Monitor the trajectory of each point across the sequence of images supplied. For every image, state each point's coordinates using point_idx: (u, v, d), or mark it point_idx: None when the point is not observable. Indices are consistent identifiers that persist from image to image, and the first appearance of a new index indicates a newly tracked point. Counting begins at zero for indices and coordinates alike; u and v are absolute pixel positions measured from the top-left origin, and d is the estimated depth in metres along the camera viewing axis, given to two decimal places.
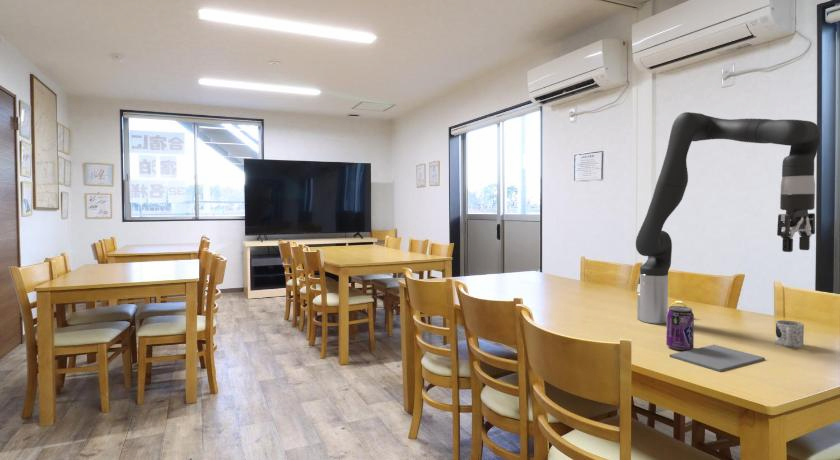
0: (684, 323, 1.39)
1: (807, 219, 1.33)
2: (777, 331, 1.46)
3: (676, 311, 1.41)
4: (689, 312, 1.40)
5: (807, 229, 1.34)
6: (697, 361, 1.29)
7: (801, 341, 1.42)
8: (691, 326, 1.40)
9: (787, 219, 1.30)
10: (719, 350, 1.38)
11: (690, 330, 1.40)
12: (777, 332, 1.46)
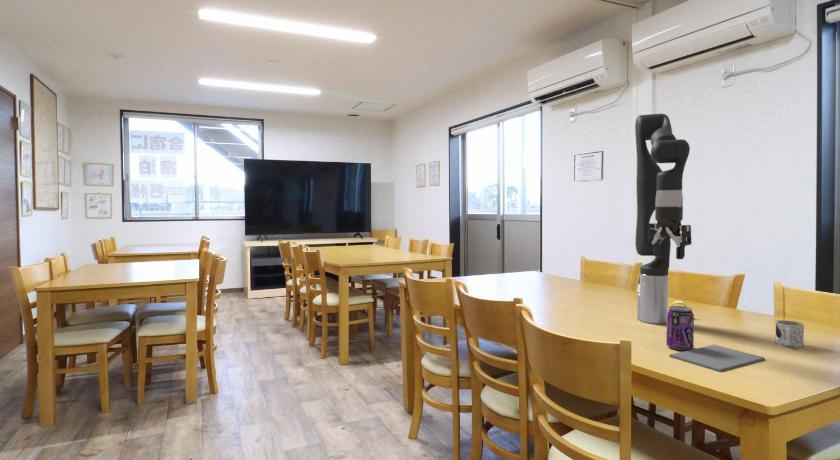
0: (684, 323, 1.39)
1: None
2: (777, 331, 1.46)
3: (676, 311, 1.41)
4: (689, 312, 1.40)
5: (664, 237, 1.52)
6: (697, 361, 1.29)
7: (801, 341, 1.42)
8: (691, 326, 1.40)
9: (690, 229, 1.42)
10: (719, 350, 1.38)
11: (690, 330, 1.40)
12: (777, 332, 1.46)
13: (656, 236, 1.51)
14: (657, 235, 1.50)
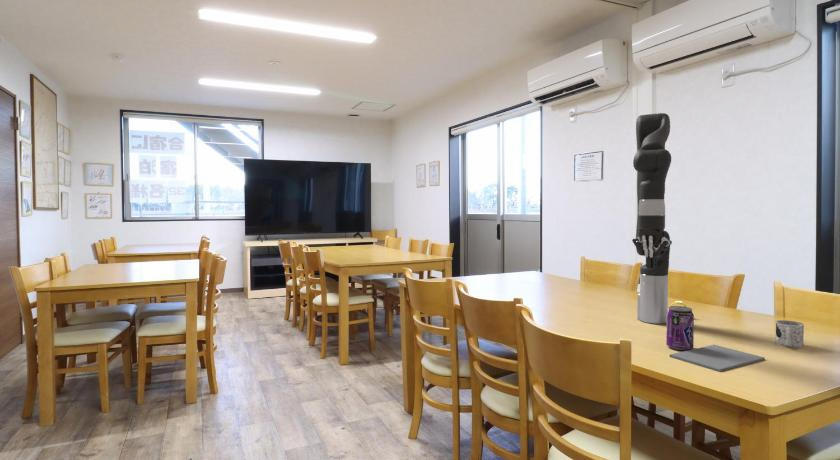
0: (684, 323, 1.39)
1: None
2: (777, 331, 1.46)
3: (676, 311, 1.41)
4: (689, 312, 1.40)
5: None
6: (697, 361, 1.29)
7: (801, 341, 1.42)
8: (691, 326, 1.40)
9: (669, 245, 1.46)
10: (719, 350, 1.38)
11: (690, 330, 1.40)
12: (777, 332, 1.46)
13: (645, 246, 1.51)
14: (645, 245, 1.51)
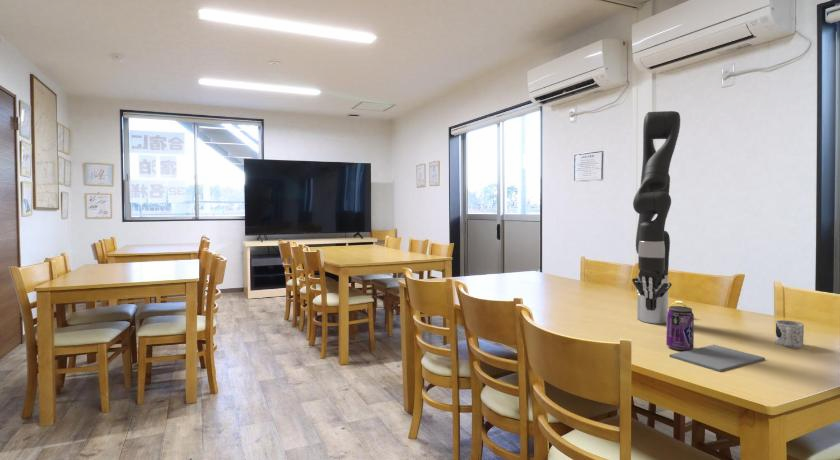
0: (684, 323, 1.39)
1: None
2: (777, 331, 1.46)
3: (676, 311, 1.41)
4: (689, 312, 1.40)
5: None
6: (697, 361, 1.29)
7: (801, 341, 1.42)
8: (691, 326, 1.40)
9: None
10: (719, 350, 1.38)
11: (690, 330, 1.40)
12: (777, 332, 1.46)
13: (645, 287, 1.51)
14: (645, 286, 1.51)
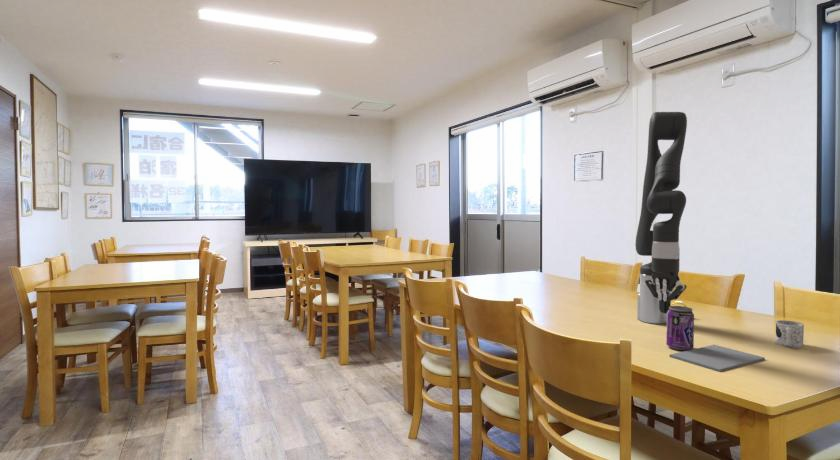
0: (684, 323, 1.39)
1: None
2: (777, 331, 1.46)
3: (676, 311, 1.41)
4: (689, 312, 1.40)
5: None
6: (697, 361, 1.29)
7: (801, 341, 1.42)
8: (691, 326, 1.40)
9: None
10: (719, 350, 1.38)
11: (690, 330, 1.40)
12: (777, 332, 1.46)
13: (658, 289, 1.47)
14: (658, 288, 1.47)
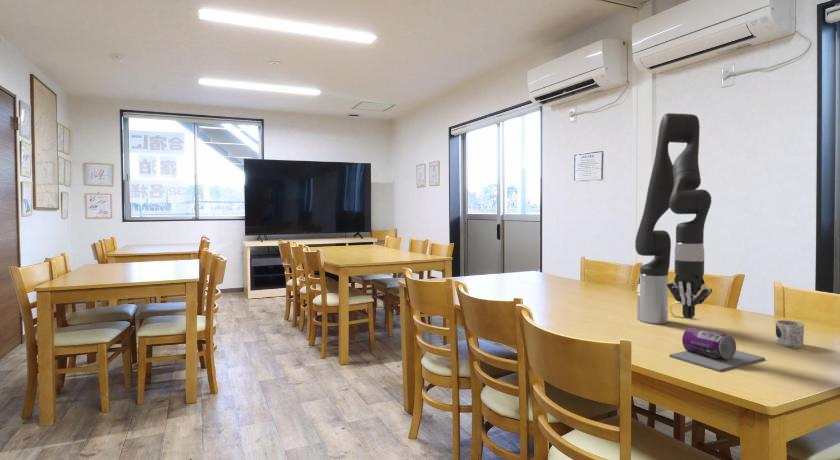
0: (711, 356, 1.32)
1: None
2: (777, 331, 1.46)
3: (719, 352, 1.28)
4: None
5: None
6: (697, 361, 1.29)
7: (801, 341, 1.42)
8: None
9: None
10: None
11: None
12: (777, 332, 1.46)
13: (682, 293, 1.40)
14: (682, 292, 1.40)
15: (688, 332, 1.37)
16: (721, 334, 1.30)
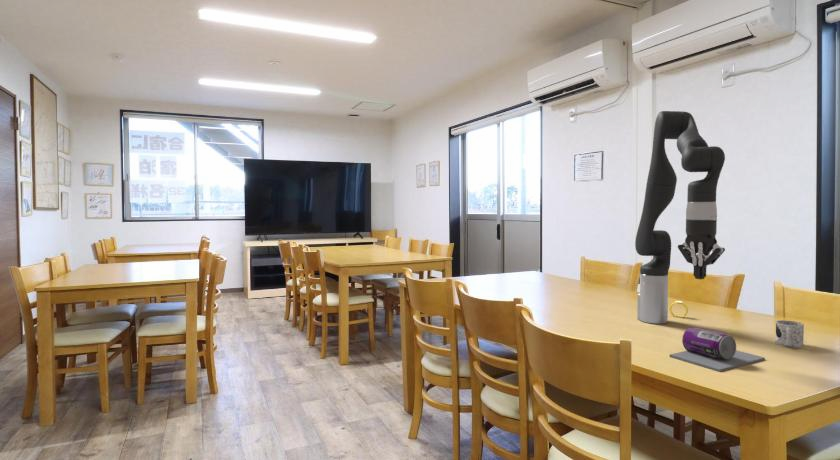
0: (711, 356, 1.32)
1: None
2: (777, 331, 1.46)
3: (719, 352, 1.28)
4: None
5: None
6: (697, 361, 1.29)
7: (801, 341, 1.42)
8: None
9: None
10: None
11: None
12: (777, 332, 1.46)
13: (693, 254, 1.36)
14: (693, 252, 1.36)
15: (688, 332, 1.37)
16: (721, 334, 1.30)
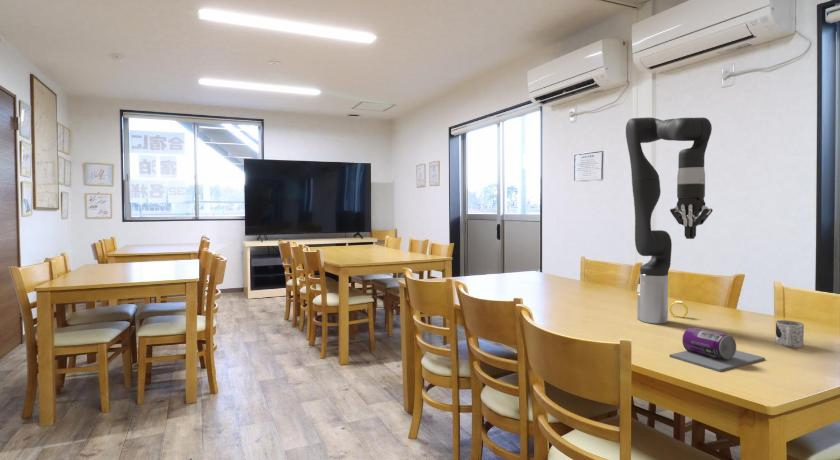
0: (711, 356, 1.32)
1: None
2: (777, 331, 1.46)
3: (719, 352, 1.28)
4: None
5: None
6: (697, 361, 1.29)
7: (801, 341, 1.42)
8: None
9: (710, 213, 1.45)
10: None
11: None
12: (777, 332, 1.46)
13: (684, 216, 1.49)
14: (684, 214, 1.49)
15: (688, 332, 1.37)
16: (721, 334, 1.30)
